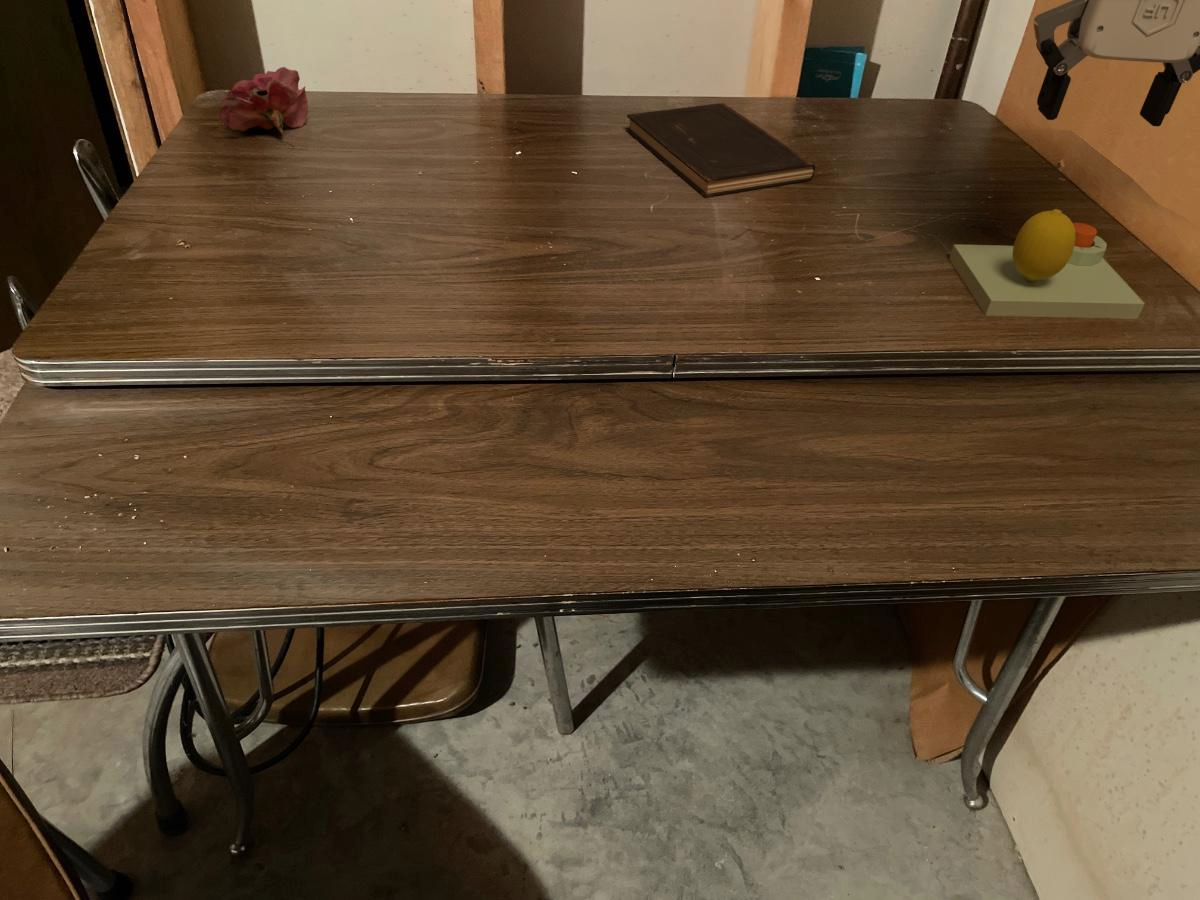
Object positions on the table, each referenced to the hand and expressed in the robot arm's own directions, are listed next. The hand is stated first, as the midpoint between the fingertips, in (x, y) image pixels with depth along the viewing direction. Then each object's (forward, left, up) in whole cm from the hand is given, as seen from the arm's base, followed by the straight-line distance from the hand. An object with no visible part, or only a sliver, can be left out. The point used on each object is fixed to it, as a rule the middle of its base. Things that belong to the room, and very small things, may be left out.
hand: (1097, 118), depth 86 cm
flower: (+90, -38, -19) cm, 99 cm away
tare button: (-6, -5, -16) cm, 18 cm away
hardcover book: (+30, -35, -19) cm, 50 cm away
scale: (-1, -1, -19) cm, 19 cm away
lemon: (+1, +1, -17) cm, 17 cm away
